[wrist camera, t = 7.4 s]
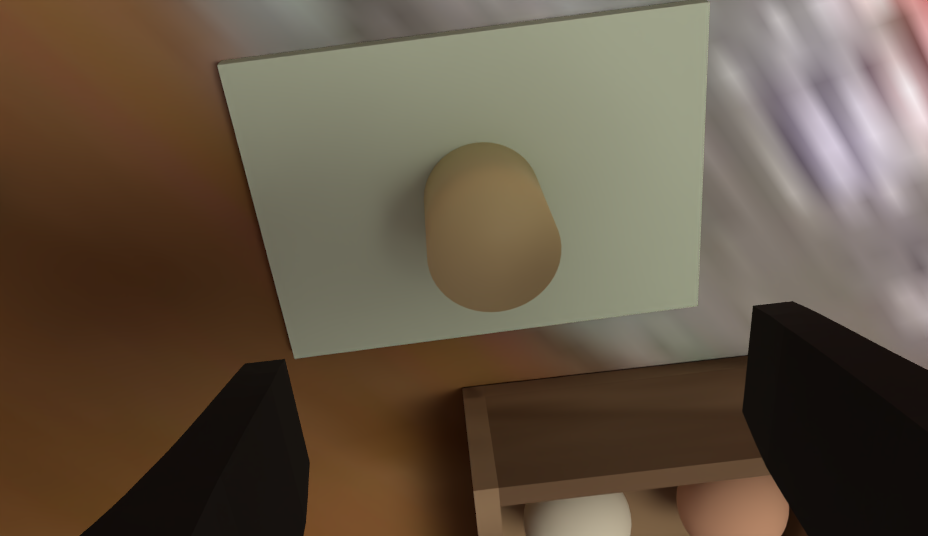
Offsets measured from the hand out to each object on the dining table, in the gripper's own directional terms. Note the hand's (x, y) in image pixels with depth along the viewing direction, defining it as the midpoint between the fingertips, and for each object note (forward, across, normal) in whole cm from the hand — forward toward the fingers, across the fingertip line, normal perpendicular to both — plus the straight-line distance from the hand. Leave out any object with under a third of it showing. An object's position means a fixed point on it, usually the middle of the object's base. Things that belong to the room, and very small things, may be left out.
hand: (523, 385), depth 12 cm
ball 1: (+6, -2, +9) cm, 11 cm away
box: (+8, -4, +9) cm, 13 cm away
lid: (+9, 0, 0) cm, 9 cm away
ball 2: (+6, -6, +9) cm, 13 cm away
